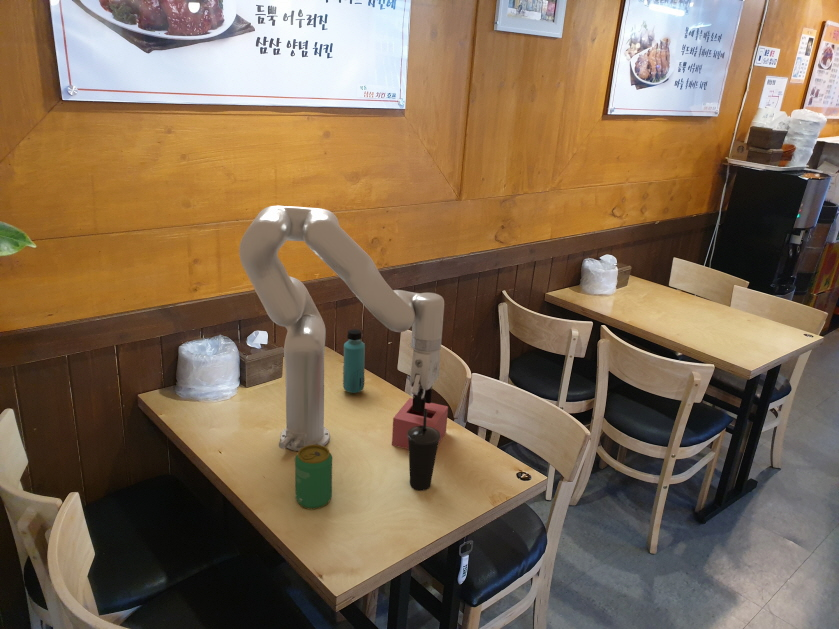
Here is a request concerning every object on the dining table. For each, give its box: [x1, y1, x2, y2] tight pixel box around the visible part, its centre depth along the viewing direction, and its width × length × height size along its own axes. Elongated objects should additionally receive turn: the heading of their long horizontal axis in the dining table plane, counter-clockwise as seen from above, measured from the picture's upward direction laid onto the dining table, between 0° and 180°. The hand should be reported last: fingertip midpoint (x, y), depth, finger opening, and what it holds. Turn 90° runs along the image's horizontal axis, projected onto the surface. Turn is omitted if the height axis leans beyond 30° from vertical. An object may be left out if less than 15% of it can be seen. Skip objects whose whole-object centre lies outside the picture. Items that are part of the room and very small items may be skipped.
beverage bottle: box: [342, 328, 366, 394], centre depth 184 cm, size 6×7×20 cm
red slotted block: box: [391, 397, 449, 450], centre depth 164 cm, size 12×11×8 cm
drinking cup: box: [407, 409, 441, 492], centre depth 143 cm, size 8×8×20 cm
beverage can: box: [294, 445, 333, 510], centre depth 137 cm, size 8×8×12 cm
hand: (421, 405), depth 162 cm, fingers open, 4 cm apart
